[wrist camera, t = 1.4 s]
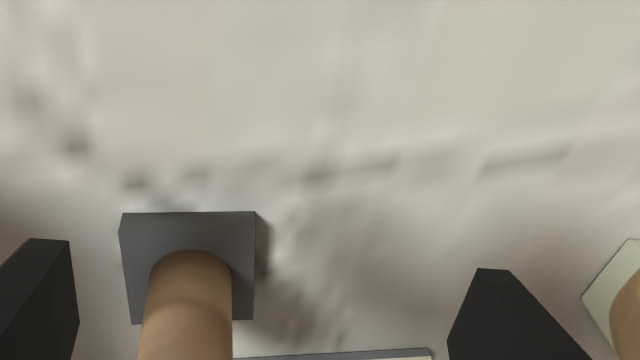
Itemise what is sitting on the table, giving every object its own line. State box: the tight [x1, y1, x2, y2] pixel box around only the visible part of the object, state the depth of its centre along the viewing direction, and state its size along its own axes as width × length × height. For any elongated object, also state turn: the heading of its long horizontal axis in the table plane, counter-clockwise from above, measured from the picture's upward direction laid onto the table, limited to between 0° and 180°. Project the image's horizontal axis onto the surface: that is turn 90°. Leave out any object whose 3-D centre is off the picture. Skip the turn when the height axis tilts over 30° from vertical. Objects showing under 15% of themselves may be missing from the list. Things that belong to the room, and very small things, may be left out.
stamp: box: [118, 211, 256, 360], centre depth 21 cm, size 5×5×7 cm
